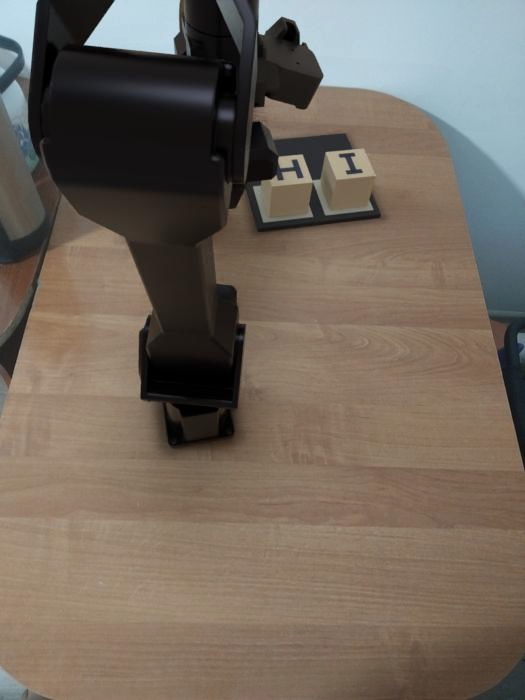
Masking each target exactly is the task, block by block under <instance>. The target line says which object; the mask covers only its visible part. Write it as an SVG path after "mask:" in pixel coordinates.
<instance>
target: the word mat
mask: <svg viewBox="0 0 525 700" xmlns="http://www.w3.org/2000/svg"><path fill="white" fill-rule="evenodd" d="M273 141H274V144H275V147H276V150H277V153H278V156H279V157H281V156H292V155H303V157H304V160H305V162H306V165H307V168H308V171H309V173H310V176H311V179H312V181H313V184H312V190H311V196H310V202H309V207H308V213H303V214H294V215H285V216H276V217H269V215H268V212H267V209H266V205H265V202H264V199H263V195H262V192H261V181H254V182H248V184H247V186H246V188H245V191H246V193H247V197H248V200H249V204H250V206H251V211H252V215H253V218H254V221H255V225H256V229H257V232H266V231H275V230H284V229H291V228H300V227H309V226H317V225H325V224H335V223H343V222H344V223H345V222H352V221H361V220H369V219H376V218H377V219H378V218H381V214H382V213H381V210H380V208H379V207H378V204H377V201H376V199H375V197H374V195H373V193H372V191H371V195H370V198H369V202H368V205H367V206H365V207H356V208H347V209H339V210H330V209H329V207H328V204H327V201H326V199H325V196H324V193H323V191H322V188H321V185H320V179H321V174H322V169H323V163H324V158H325V153H326V152H333V151H343V150H354V149H353V147H352V145H351V143H350V140H349V138H348V136H347V133H333V134H323V135H311V136H300V137H291V138H290V137H289V138H280V139H279V138H278V139H273Z"/></svg>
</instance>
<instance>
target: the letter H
mask: <svg viewBox="0 0 525 700" xmlns="http://www.w3.org/2000/svg"><path fill="white" fill-rule="evenodd" d="M312 184H313V181H312V179H311V176H310V173H309V171H308V168H307V165H306V162H305V160H304V157H303V155H292V156H281V157H279V159H278V169H277V175H276V176H275V177H274V178H273V179H272V180H263V181H261V192H262V195H263V199H264V202H265V205H266V209H267V212H268V215H269V217H276V216H285V215H294V214H303V213H308V207H309V202H310V196H311V190H312Z"/></svg>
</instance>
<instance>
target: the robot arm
mask: <svg viewBox="0 0 525 700" xmlns="http://www.w3.org/2000/svg"><path fill="white" fill-rule="evenodd" d="M115 1H116V0H37V1H36V4H35V15H34V26H33V37H32V50H31V61H30V73H29V83H28V84H29V86H28V96H27V124H28V130H29V138H30V141H31V144H32V147H33V150H34V153H35V156H36V157H37V158H38V159H39V160H40V161H41V163H42V164H43V165H44V168H45V169H46V172H47V175H48V177H49V179H50V180H51V181H52V183H53V184H54V185H55V187H56V188H57V189H58V190H59V192H60V193H61V194H62V195H63V197H64V198H65V199H66V201H68V203H69V205H71V207H72V208H73V209H74V210H75V211H76V213H77V214H78V215H79V216H81V217H83V218H84V219H87V220H88V221H91V222H93V223H95V224H97V225H99V226H101V227H103V228H105V229H107V230H109V231H111V232H113V233H115V234H117V235H119V236H121V237H123V238H124V240H125V243H126V245H127V247H128V250H129V252H130V254H131V258H132V260H133V262H134V265H135V268H136V270H137V273H138V275H139V279H140V280H141V283H142V285H143V287H144V290H145V293H146V295H147V298H148V300H149V303H150V305H151V308H152V310H151V314H148V315H147V317H146V319H145V324H144V326H143V327H142V328H141V329H140V330H139V332H138V363H137V364H138V367H137V368H138V369H137V370H138V377H139V381H140V391H139V392H140V393H139V399H140V401H141V402H145V403H151V402H153V403H162V409H163V416H164V424H165V432H166V439H167V445H168V446H169V448H172V449H174V448H175V449H176V448H180V447H186V446H193V445H197V444H198V445H199V444H202V443H203V444H204V443H209V442H215V441H219V440H220V441H221V440H226V439H231V438H233V437H235V435H236V429H235V425H234V420H233V414H232V411H233V412H238V411H239V403H240V394H241V388H242V387H241V386H242V377H243V368H244V357H245V345H246V335H247V333H246V332H247V324H246V323H240V309H239V305H238V290H237V289H236V288H235V287H234V285H231V284H221V283H218V281H217V275H216V274H217V273H216V272H217V271H216V263H215V262H216V261H215V253H214V242H213V235H214V234H216V233H218V232H220V231H222V230H224V229H226V227H227V226H228V220H229V213H230V210H234V209H237V207H238V205H239V203H240V201H241V198H242V197H243V194H244V192H245V191H246V186H247V184H248V182H254V181H263V180H272V179H273V178H274V177H275V176H276V175H277V169H278V159H279V156H278V153H277V150H276V147H275V144H274V141H273V140H274V137H273V135H272V132H271V130H270V128H269V127H268V126H266V125H265V124H264V123H262V122H261V121H260V120H259V121H253V119H254V109H256V108H257V109H258V108H265V101H266V98H267V99H270V100H272V101H275V102H280V103H284V104H287V105H289V106H290V105H291V106H294V107H295V108H296V109H297V110H301V111H302V110H307V109H308V108H309V106H310V104H311V102H312V101H313V98H314V96H315V95H316V92H317V91H318V89H319V87H320V85H321V83H322V81H323V79H324V77H325V76H324V72H323V70H322V68H321V66H320V63H319V62H318V59H317V56H316V55H315V53H314V52H313V50H311V49H310V48H309V46H308V44H307V42H304V41H302V42H301V32H300V29H299V27H298V25H297V22H296V21H295V20H293V19H290V18H288V17H285V16H280V17H279V18H278V19H277V20H276V21H275V22H274V23H273V24H272V25H271V26H270V27H269V28H268V29H266V30H265V32H264V34H261V33H260V32H259V26H258V17H259V18H260V0H184V14H185V15H182V29H181V31H180V30H179V32H177V34H176V35H175V36H174V37H173V49H174V53H166V52H165V53H164V52H155V51H145V50H136V49H126V48H118V47H117V48H116V47H108V46H99V45H98V46H97V45H88V44H86V43H87V41H88V40H89V39H90V37H91V35H92V34H93V33H94V32H95V30H96V29H97V27H98V26H99V24H100V23H101V22H102V20H103V18H104V17H105V16H106V14H107V12H108V11H109V10H110V9H111V7H112V6H113V4H114V3H115ZM229 431H230V432H231V433H228V432H229ZM172 442H174V443H172Z"/></svg>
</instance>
